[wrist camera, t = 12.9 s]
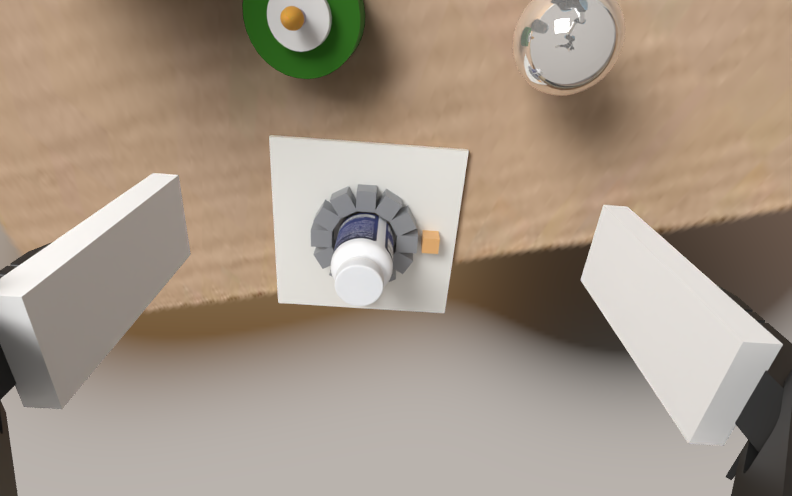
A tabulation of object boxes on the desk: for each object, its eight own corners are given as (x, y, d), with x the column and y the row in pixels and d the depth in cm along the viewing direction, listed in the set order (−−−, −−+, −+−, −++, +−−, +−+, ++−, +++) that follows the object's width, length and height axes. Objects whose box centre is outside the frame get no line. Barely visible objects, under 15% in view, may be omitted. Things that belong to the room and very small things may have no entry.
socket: (270, 134, 42) (263, 141, 40) (467, 149, 43) (471, 156, 40) (279, 299, 50) (274, 312, 48) (444, 310, 51) (446, 323, 49)
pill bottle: (328, 237, 46) (312, 291, 38) (360, 197, 44) (350, 244, 36) (372, 266, 48) (366, 324, 39) (404, 229, 46) (405, 281, 37)
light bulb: (516, 94, 40) (559, 127, 30) (475, 22, 38) (505, 29, 27) (591, 44, 38) (664, 59, 28) (552, -36, 36) (617, -53, 25)
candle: (385, 30, 38) (381, 37, 29) (307, 89, 40) (281, 113, 31) (322, -70, 35) (296, -96, 26) (241, 0, 37) (192, -1, 28)
